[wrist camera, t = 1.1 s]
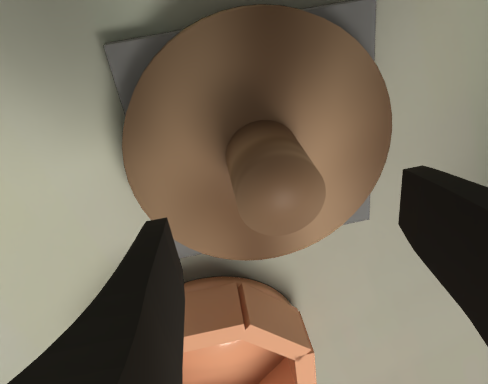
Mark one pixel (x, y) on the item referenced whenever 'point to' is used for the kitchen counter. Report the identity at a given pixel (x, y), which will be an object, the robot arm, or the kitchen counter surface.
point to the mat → (145, 48)
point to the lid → (257, 132)
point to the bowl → (243, 335)
